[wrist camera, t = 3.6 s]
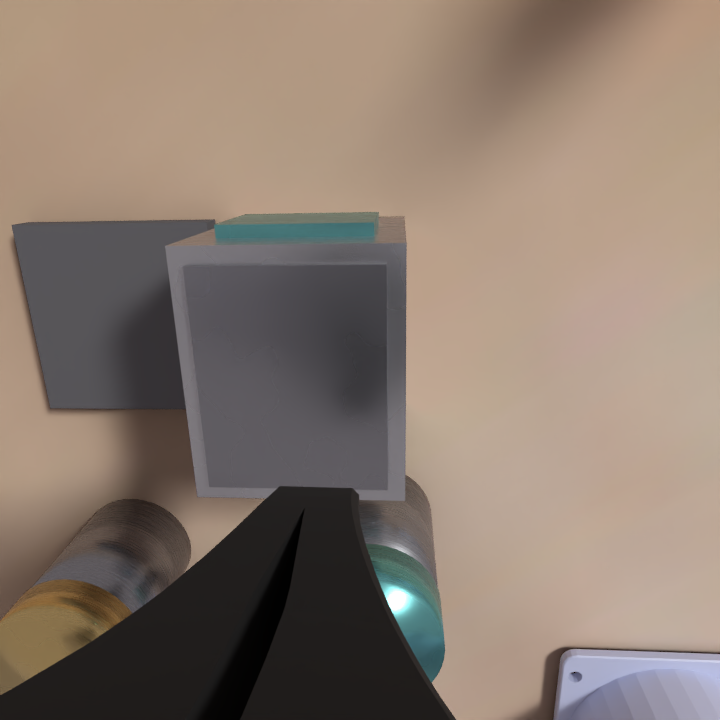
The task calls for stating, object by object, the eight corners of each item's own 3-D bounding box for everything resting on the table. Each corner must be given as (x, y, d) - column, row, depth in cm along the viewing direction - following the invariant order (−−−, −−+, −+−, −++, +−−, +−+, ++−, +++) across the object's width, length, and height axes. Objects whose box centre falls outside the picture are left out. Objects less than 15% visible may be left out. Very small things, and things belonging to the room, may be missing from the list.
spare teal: (431, 564, 21) (442, 709, 16) (321, 561, 22) (293, 703, 16) (433, 465, 20) (446, 585, 14) (316, 464, 20) (283, 581, 15)
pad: (232, 400, 20) (226, 409, 19) (63, 398, 20) (50, 408, 19) (215, 219, 18) (206, 222, 17) (27, 222, 18) (11, 224, 17)
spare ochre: (198, 590, 22) (129, 734, 17) (96, 587, 23) (-5, 728, 17) (185, 498, 21) (106, 622, 15) (77, 496, 21) (-39, 617, 16)
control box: (403, 401, 19) (405, 505, 13) (256, 400, 20) (194, 501, 14) (404, 206, 17) (406, 228, 11) (239, 208, 18) (159, 232, 12)
